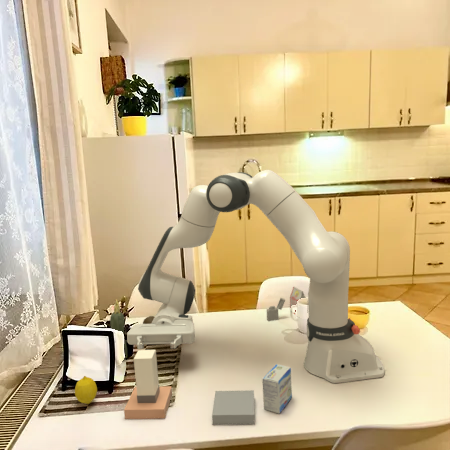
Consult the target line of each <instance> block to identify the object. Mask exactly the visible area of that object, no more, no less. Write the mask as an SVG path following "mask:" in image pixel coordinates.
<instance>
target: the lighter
mask: <svg viewBox="0 0 450 450" xmlns="http://www.w3.org/2000/svg"><path fill="white" fill-rule="evenodd" d="M285 303H286V299H285V298H283V297H280V298H279V300H278V303H277V305H276V307H275V305H271V306H269V307H268V308H266V320H267V322H273V321H279V319H280V318H279V310H280V311H282V309H283V306H284V304H285Z"/></svg>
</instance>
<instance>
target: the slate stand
mask: <svg viewBox="0 0 450 450" xmlns="http://www.w3.org/2000/svg"><path fill="white" fill-rule="evenodd" d="M214 392H215V393H214V398H213V399H214V400H213V405H212V414H211V417H212V418H211V419H212V420H211V422H212V425H214V426H215V425H217V426H218V425H227V426H228V425H229V426H230V425H255V424H256V421H255V419H256V418H255V417H256V416H255V389H253V390H250V389H249V390H215V391H214Z"/></svg>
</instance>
